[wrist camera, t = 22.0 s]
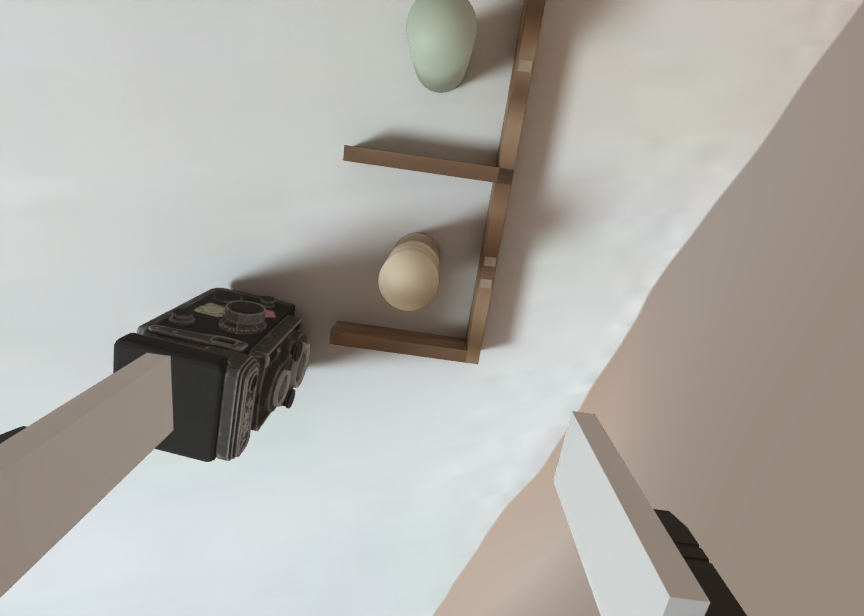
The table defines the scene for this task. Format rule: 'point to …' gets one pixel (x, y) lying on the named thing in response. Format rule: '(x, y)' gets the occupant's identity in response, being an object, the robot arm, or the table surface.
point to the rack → (500, 192)
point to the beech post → (411, 273)
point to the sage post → (441, 41)
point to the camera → (222, 367)
